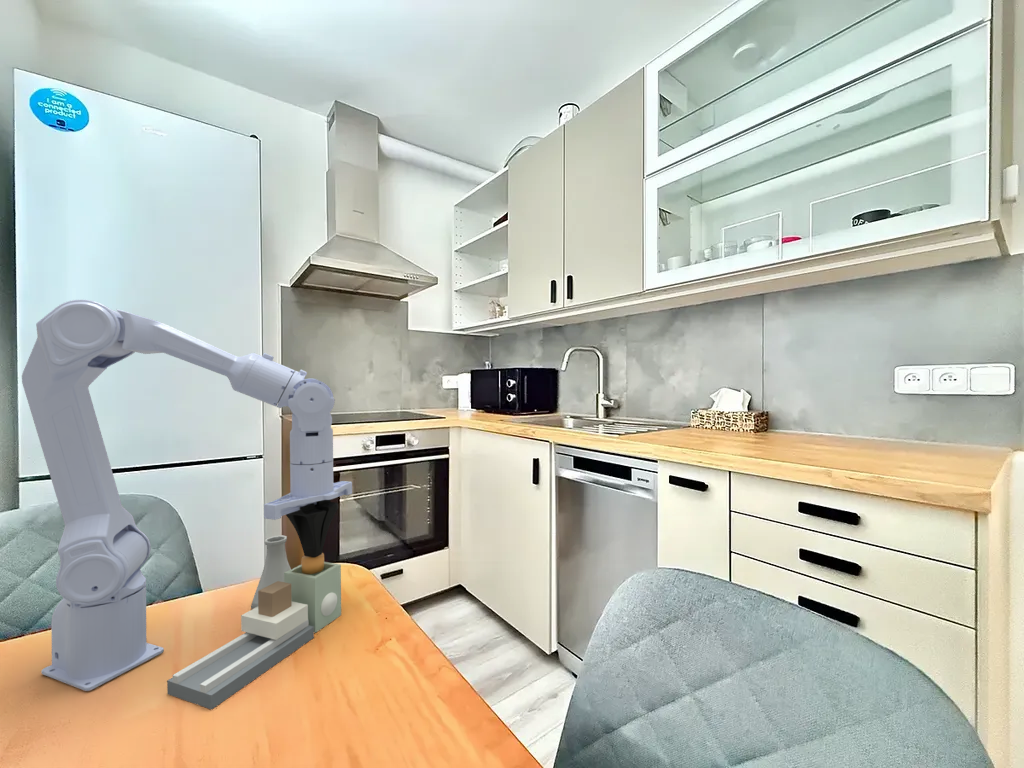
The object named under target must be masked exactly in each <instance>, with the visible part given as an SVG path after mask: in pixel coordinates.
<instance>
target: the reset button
mask: <svg viewBox="0 0 1024 768" xmlns="http://www.w3.org/2000/svg"><path fill="white" fill-rule="evenodd" d="M324 562H325V553H324V552H322V554H321V555H319V556H317V557H308V556H304V555H303V556H301V564H302V573H303V574H315V573H318V572H321V571H323V570H324Z"/></svg>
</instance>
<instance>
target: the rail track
mask: <svg viewBox="0 0 1024 768" xmlns="http://www.w3.org/2000/svg"><path fill="white" fill-rule="evenodd" d="M314 634H315V633H314V627H313V626H309V623H308V620H307V621H305V622H303V623H302V624H300V625H299V626H297V627H296V628H294V629H293V630H291V631H289V632H288V633H286V634H285V635H283V636H282V637H280V638H279V639H277V640H275V639H271V638H267V637H263V636H259V635H255V634H251V633H247V632H243V634H241V635H239V636H238V637H235V639H231V641H229V642H227V643H225V644H224V645H222V646H220V647H219V648H217V649H215V650H213V651H212V652H210V653H208V654H206V655H205V656H203V657H201V658H199V659H198V660H196V661H194V662H193V663H191V664H189V665H187V666H185V667H184V668H183V669H181V670H179V671H177V672H176V673H174V674H172V677H171V678H169V679H168V680H167V681H166V682H167V686H166V688H167V689H166V690H167V691H166V692H167V693H166V694H167V695H169V696H172V697H175V698H178V699H180V700H184V701H186V702H188V703H192V704H195V705H196V706H197V705H198V706H200V707H202V708H203V707H204V708H206V709H208V710H213V709H215V708H216V707H217V706H218V705H219V706H220V705H221V703H224V701H226V700H227V699H229V698H230V697H232V696H233V695H235V694H236V693H238V692H239V691H240V690H241V689H243V688H244V687H246V686H247V685H249V684H250V683H252V682H253V681H254V680H256V679H258V677H260V676H262V675H263V674H264V673H266V672H267V671H269V670H270V669H272V668H273V667H275V665H277V664H279V663H280V662H282V661H283V660H285V658H287V657H289V656H290V655H292V654H293V653H294V652H296V651H297V650H299V649H300V648H302V647H303V646H304V645H306V644H307V643H308V642H310V641H311V640H313V639H314V638H315V636H314Z"/></svg>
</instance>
